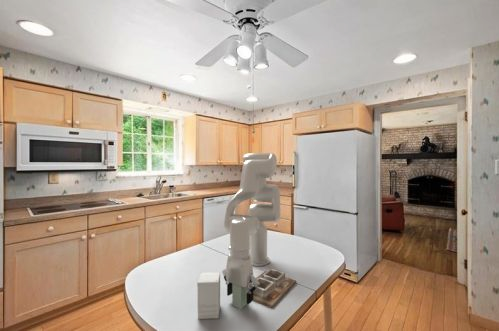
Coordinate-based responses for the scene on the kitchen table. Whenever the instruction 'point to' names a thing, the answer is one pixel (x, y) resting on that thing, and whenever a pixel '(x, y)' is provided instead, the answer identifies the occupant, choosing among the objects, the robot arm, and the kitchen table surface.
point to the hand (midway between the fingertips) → (239, 298)
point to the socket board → (271, 287)
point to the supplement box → (208, 295)
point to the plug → (239, 296)
